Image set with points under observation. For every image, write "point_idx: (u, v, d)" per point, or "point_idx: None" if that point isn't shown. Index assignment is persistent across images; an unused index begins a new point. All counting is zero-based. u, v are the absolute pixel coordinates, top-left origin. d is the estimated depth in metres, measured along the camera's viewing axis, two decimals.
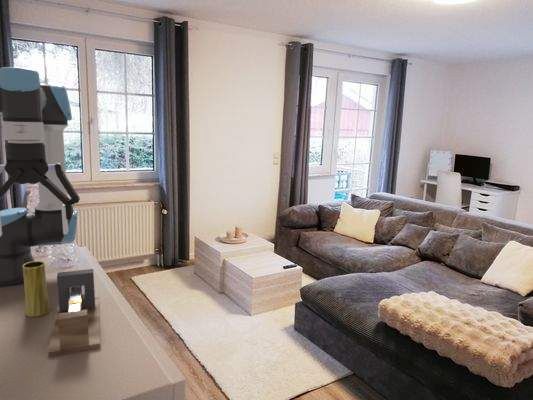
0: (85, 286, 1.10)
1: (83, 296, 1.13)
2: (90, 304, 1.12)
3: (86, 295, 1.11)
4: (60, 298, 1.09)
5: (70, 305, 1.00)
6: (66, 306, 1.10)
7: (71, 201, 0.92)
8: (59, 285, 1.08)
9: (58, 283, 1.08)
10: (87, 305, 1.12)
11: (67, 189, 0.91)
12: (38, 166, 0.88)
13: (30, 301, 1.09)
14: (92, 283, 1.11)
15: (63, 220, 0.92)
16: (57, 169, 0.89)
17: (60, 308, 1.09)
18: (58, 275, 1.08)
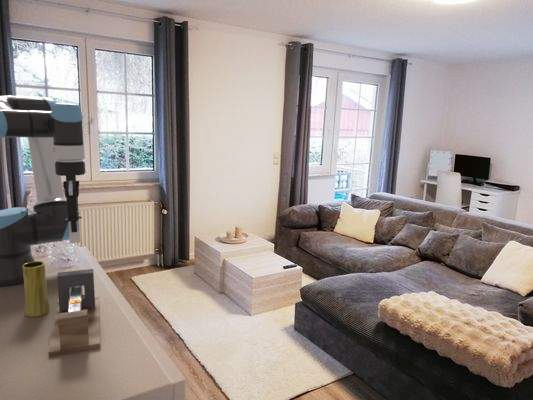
0: (85, 286, 1.10)
1: (83, 296, 1.13)
2: (90, 304, 1.12)
3: (86, 295, 1.11)
4: (60, 298, 1.09)
5: (70, 305, 1.00)
6: (66, 306, 1.10)
7: None
8: (59, 285, 1.08)
9: (58, 283, 1.08)
10: (87, 305, 1.12)
11: (67, 207, 1.09)
12: (66, 180, 1.08)
13: (30, 301, 1.09)
14: (92, 283, 1.11)
15: (69, 231, 1.14)
16: (65, 192, 1.07)
17: (60, 308, 1.09)
18: (58, 275, 1.08)
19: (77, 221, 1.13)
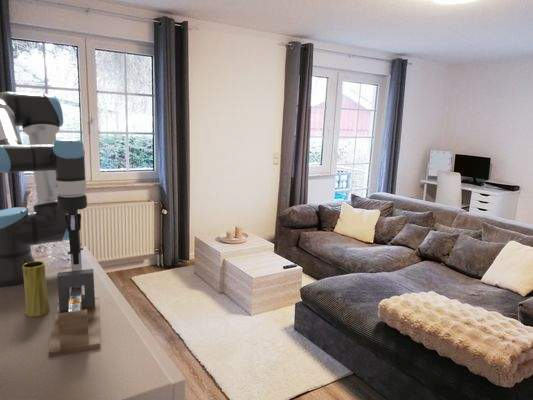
0: (85, 286, 1.10)
1: (83, 296, 1.13)
2: (90, 304, 1.12)
3: (86, 295, 1.11)
4: (60, 298, 1.09)
5: (70, 305, 1.00)
6: (66, 306, 1.10)
7: None
8: (59, 285, 1.08)
9: (58, 283, 1.08)
10: (87, 305, 1.12)
11: None
12: (68, 214, 1.10)
13: (29, 301, 1.09)
14: (92, 283, 1.11)
15: (71, 263, 1.15)
16: (68, 226, 1.08)
17: (60, 308, 1.09)
18: (58, 275, 1.08)
19: (79, 253, 1.15)
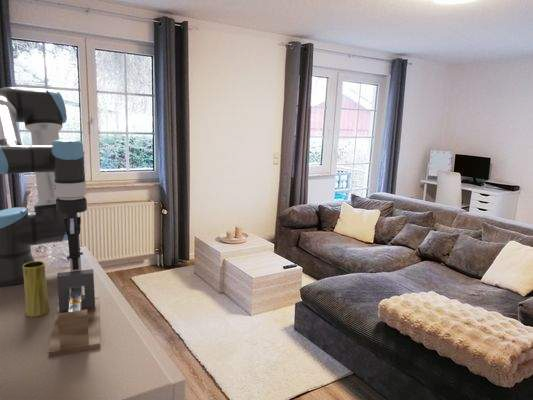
0: (85, 286, 1.10)
1: (83, 296, 1.12)
2: (90, 304, 1.12)
3: (86, 295, 1.11)
4: (60, 298, 1.08)
5: (70, 305, 1.00)
6: (66, 306, 1.09)
7: None
8: (59, 285, 1.08)
9: (58, 283, 1.07)
10: (87, 305, 1.11)
11: (68, 245, 1.07)
12: (67, 217, 1.06)
13: (29, 301, 1.09)
14: (92, 283, 1.11)
15: None
16: (67, 230, 1.04)
17: (60, 308, 1.09)
18: (58, 275, 1.08)
19: (78, 258, 1.11)
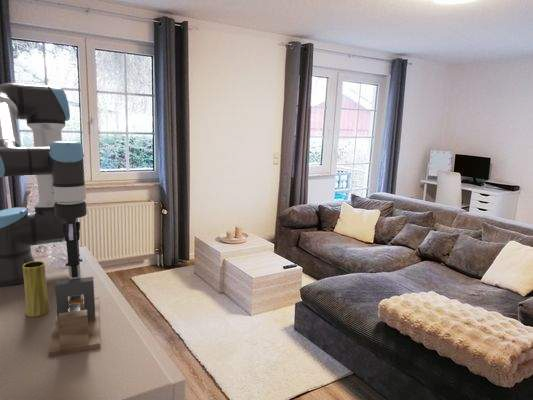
0: (85, 295, 1.05)
1: (82, 305, 1.07)
2: (90, 314, 1.07)
3: (86, 304, 1.06)
4: (58, 308, 1.03)
5: (70, 305, 1.00)
6: None
7: None
8: (57, 294, 1.02)
9: (56, 292, 1.02)
10: (87, 315, 1.06)
11: None
12: (66, 223, 1.01)
13: (29, 301, 1.09)
14: (92, 292, 1.06)
15: (69, 276, 1.06)
16: (65, 236, 0.99)
17: None
18: (56, 284, 1.02)
19: (78, 265, 1.06)
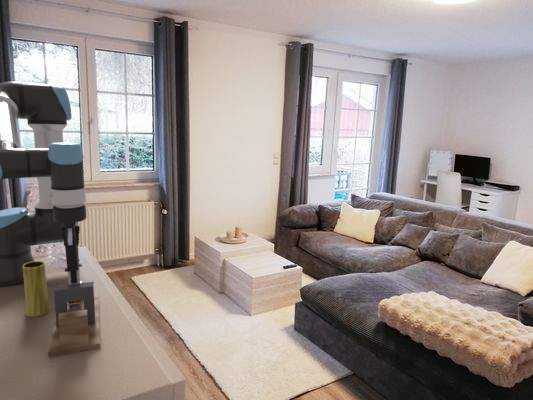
0: (84, 301, 1.02)
1: None
2: (90, 320, 1.03)
3: None
4: (57, 314, 1.00)
5: (70, 305, 1.00)
6: None
7: None
8: (56, 300, 0.99)
9: (55, 298, 0.99)
10: None
11: None
12: (65, 227, 0.97)
13: (30, 301, 1.09)
14: (92, 297, 1.02)
15: None
16: (64, 241, 0.96)
17: (57, 325, 1.00)
18: (55, 289, 0.99)
19: (77, 270, 1.02)
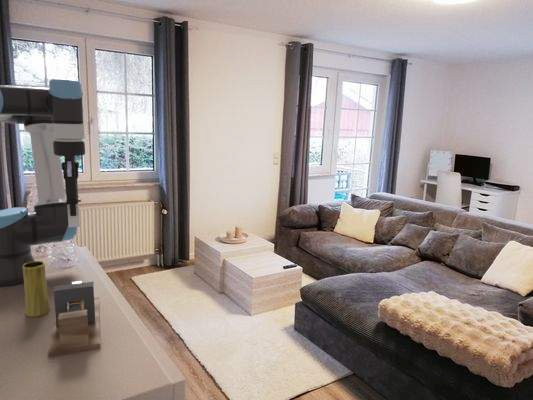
0: (84, 301, 1.02)
1: None
2: (90, 320, 1.03)
3: None
4: (57, 314, 1.00)
5: (70, 305, 1.00)
6: None
7: None
8: (56, 300, 0.99)
9: (55, 298, 0.99)
10: None
11: (66, 189, 1.04)
12: None
13: (30, 301, 1.09)
14: (92, 297, 1.02)
15: (68, 215, 1.08)
16: (64, 173, 1.01)
17: (57, 325, 1.00)
18: (55, 289, 0.99)
19: (76, 204, 1.08)
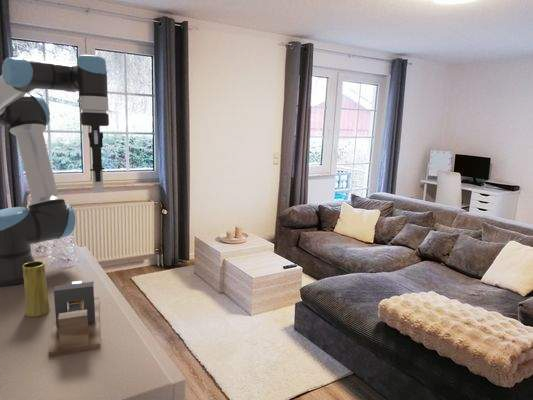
0: (84, 301, 1.02)
1: None
2: (90, 320, 1.03)
3: None
4: (57, 314, 1.00)
5: (70, 305, 1.00)
6: None
7: None
8: (56, 300, 0.99)
9: (55, 298, 0.99)
10: None
11: (92, 156, 1.14)
12: (91, 129, 1.13)
13: (30, 301, 1.09)
14: (92, 297, 1.02)
15: (93, 181, 1.18)
16: (91, 140, 1.11)
17: (57, 325, 1.00)
18: (55, 289, 0.99)
19: (101, 171, 1.18)
